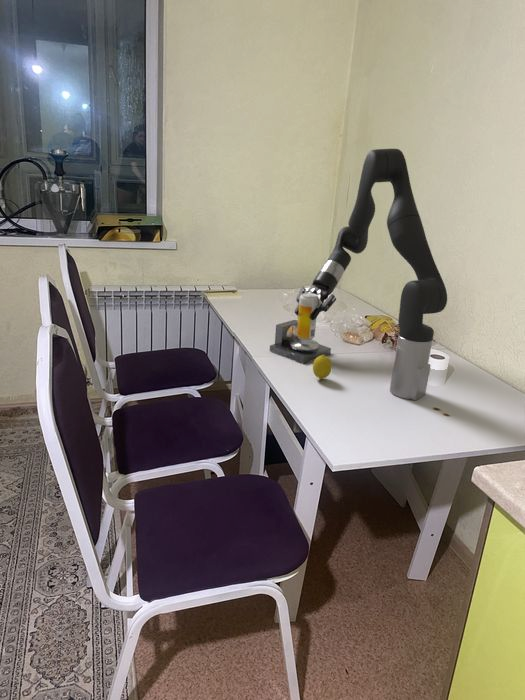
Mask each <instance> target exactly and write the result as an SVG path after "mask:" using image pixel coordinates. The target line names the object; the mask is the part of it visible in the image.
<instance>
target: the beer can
mask: <svg viewBox="0 0 525 700" xmlns="http://www.w3.org/2000/svg"><path fill="white" fill-rule="evenodd" d="M317 303H318V297H317V295H316V294H314V293H302V294H301V296H300V301H299V303H298V304H299V313H298V316H297V320H298V326H297V336H298V338H299V339H302V340H314V338H315V337H316V336H315V335H316V328H317V327H316V326H317V318H316V319H314V320H311V319H310V315H311V313H312V312H313V311H314V310H315V308H316V306H317Z"/></svg>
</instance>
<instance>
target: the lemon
mask: <svg viewBox="0 0 525 700" xmlns="http://www.w3.org/2000/svg"><path fill="white" fill-rule="evenodd" d="M312 371H313V374H314V375H315V377H316V378H318V379H319V380H323V379H326V378H327V377H329V375H330V374H331V372H332V362H331V358H329V357H328V355H321V356H318V357H317V358H316V359H315V360H313V365H312Z"/></svg>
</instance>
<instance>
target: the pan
mask: <svg viewBox="0 0 525 700" xmlns="http://www.w3.org/2000/svg"><path fill="white" fill-rule="evenodd" d="M319 344H320V343H319V342H317V340H314V339H312V340H302V339H293V340H291V341H290V347H291V348H293V349H296V350H300V351H314V350H317V349H318V348H319Z"/></svg>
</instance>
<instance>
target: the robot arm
mask: <svg viewBox="0 0 525 700" xmlns="http://www.w3.org/2000/svg"><path fill="white" fill-rule="evenodd" d="M360 174H361V175H360V180H359V183H358V184H359V185H358V188H357V189H358V190H357V195H356V200H355V203H354V207H353V209H352V212H351V214H350V216H349V219H348V226H344V227H342V228H341V229H340V230H339V231H338V234H337V238H336V241H335V246H334V248H333V250H332V252H331V254H330V256H329V257H328V258H327V261H326V262H325V263H324V264H323V265H322V266H321V268H320V270H319V271H318V272H317V274H316V275H315V277H314V279H313V280H312V283H311V286H309V287H305V286H304V285H303V286H301V288H300V290H299V291H298V295H297V296H296V297H295V301H296V302H297V304H298V305H296V307H295V309H294V315H296V316H297V317H298V313H299V301H300V296H301V294H302V293H314V294H316V295H317V297H318V303H317V306H316V308H315V310H314V311H313V312H312V313H311V315H310V319H311V320H314V319H316V320H317V319H318V318H317V317H318V316H319V315H320V313H322V312H324V313H326V312H328V311H329V309H330V308H331V307H332V305H333V304H335V302H336V301H337V298H336V296H335V294H334V293H333V292H334V291H335V289H336V287H337V286H338V284H339V283H340V281H341V279H342V277H343V275H344V272H345V271H346V269H348V267H349V265H350V263H351V261H352V256H351V255H350V253H349V252H348V251H350V252H352V253H354V254H356V255H357V254H361V253H363V252H364V251H365V250H366V248H367V245H368V241H369V228H370V225H371V224H372V221H373V219H374V217H375V213H376V204H375V200H374V196H373V193H372V189H373V187H374V185H375V183H390V184H391V186H392V190H393V201H392V204H391V205H390V206H391V207H390V209H389V212H388V215H387V218H386V226H387V230H388V234H389V238H390V240H391V243H392V246H393V248H394V249H395V250H396V252H398V254H399V255H400V256H401V257H402V259H404V260H405V261H406V262H407V264H409V265H410V266H411V268H412V270H413V271H414V273H415V276H416V278H417V280H416V279H415V280H410V281H407V282H406V283H405V284H404V286H403V288H402V291H401V295H400V301H399V302H400V303H399V313H398V322H397V323H398V327H399V328H398V330H399V331H398V335H397V336H398V337H397V343H396V349H395V356H394V361H393V368H392V374H391V380H390V385H389V392H390V393H391V394H392V395H394V396H396V397H398V398H402V399H407V400H412V401H417V400H419V399H420V398H423V397H424V396H425V395H426V392H427V386H428V381H429V377H430V371H431V367H432V366H431V364H430V363H429V362H430V361H429V360H430V355H431V349H432V345H433V340H434V335H435V334H434V333H435V331H434V328H432V327H431V326H429V325H428V324H425V323H424V320H423V319H424V315H428V314H429V315H430V314H438V313H440V312H441V313H442V311H444V309H445V308H446V306H447V303H448V293H447V288H446V285H445V282H444V281H443V278H442V276H441V273H440V272H439V269H438V266H437V264H436V262H435V259H434V256H433V254H432V251H431V248H430V245H429V242H428V240H427V235H426V231H425V230H424V229H425V228H424V225H423V222H422V218H421V216H420V214H419V210H418V208H417V203H416V199H415V197H414V194H413V190H412V186H411V185H412V184H411V180H410V175H409V170H408V165H407V160H406V158H405V155H404V153H403V151H402V150H401V149H399V148H375V149H372V150H370V151H368V152H367V155H366V157H365V158H364V162H363V165H362V170H361V173H360ZM344 248H345V249H344ZM346 250H348V251H346Z"/></svg>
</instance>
